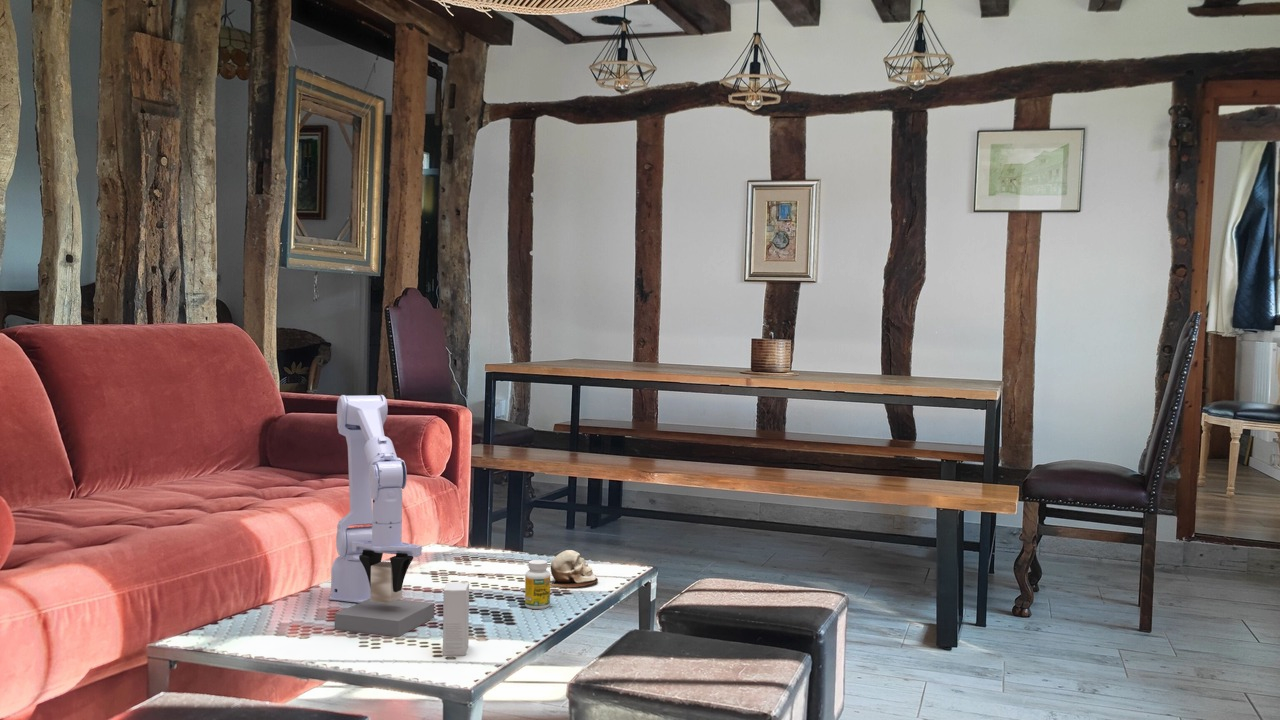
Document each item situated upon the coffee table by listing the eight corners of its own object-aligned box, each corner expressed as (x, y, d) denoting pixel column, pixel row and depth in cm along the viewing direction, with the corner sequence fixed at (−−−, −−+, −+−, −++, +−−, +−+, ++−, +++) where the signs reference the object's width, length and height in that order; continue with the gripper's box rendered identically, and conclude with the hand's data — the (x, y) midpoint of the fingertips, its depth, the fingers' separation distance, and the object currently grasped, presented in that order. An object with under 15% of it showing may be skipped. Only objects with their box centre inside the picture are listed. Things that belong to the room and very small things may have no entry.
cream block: (370, 601, 202) (370, 565, 202) (382, 595, 206) (382, 561, 206) (390, 603, 201) (391, 567, 201) (402, 597, 205) (402, 563, 205)
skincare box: (445, 645, 190) (446, 581, 189) (468, 645, 190) (469, 581, 190) (441, 656, 184) (443, 589, 183) (465, 656, 184) (467, 589, 184)
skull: (603, 573, 247) (599, 547, 240) (595, 609, 240) (590, 584, 233) (555, 568, 249) (549, 542, 242) (545, 604, 241) (539, 579, 234)
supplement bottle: (542, 601, 223) (543, 557, 222) (554, 607, 218) (555, 562, 218) (520, 605, 220) (521, 560, 219) (531, 610, 215) (532, 565, 215)
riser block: (334, 629, 199) (334, 613, 199) (373, 611, 212) (373, 596, 212) (398, 636, 195) (398, 621, 195) (434, 617, 208) (434, 603, 208)
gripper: (343, 522, 201) (342, 591, 202) (409, 527, 197) (408, 597, 197) (363, 516, 208) (362, 583, 208) (427, 521, 204) (426, 589, 204)
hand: (385, 589), depth 203 cm, fingers closed on cream block, 4 cm apart
